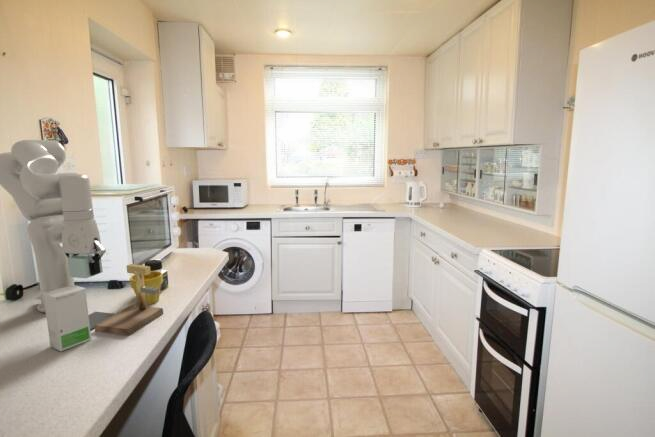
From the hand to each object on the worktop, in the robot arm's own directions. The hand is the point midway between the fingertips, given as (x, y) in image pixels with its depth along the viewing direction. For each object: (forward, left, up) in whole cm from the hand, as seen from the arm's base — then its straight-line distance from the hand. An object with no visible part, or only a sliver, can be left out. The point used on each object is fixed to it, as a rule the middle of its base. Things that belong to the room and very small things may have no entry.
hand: (86, 272), depth 114 cm
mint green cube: (0, 0, -1) cm, 1 cm away
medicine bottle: (+1, +28, -16) cm, 33 cm away
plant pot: (+6, +18, -16) cm, 25 cm away
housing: (+12, +3, -16) cm, 20 cm away
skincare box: (+5, -12, -16) cm, 21 cm away
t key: (+13, +8, -14) cm, 21 cm away
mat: (0, 0, -16) cm, 16 cm away
